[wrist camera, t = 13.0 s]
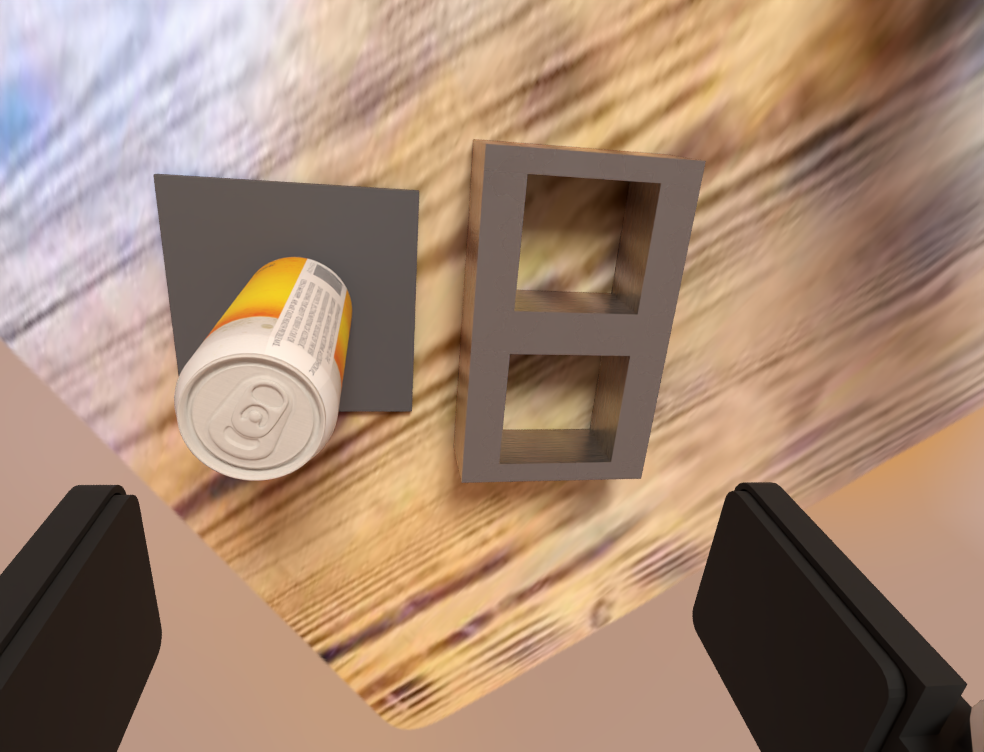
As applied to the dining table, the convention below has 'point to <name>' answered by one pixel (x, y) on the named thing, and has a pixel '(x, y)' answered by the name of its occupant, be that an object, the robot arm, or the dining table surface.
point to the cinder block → (569, 313)
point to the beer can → (268, 373)
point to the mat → (308, 234)
